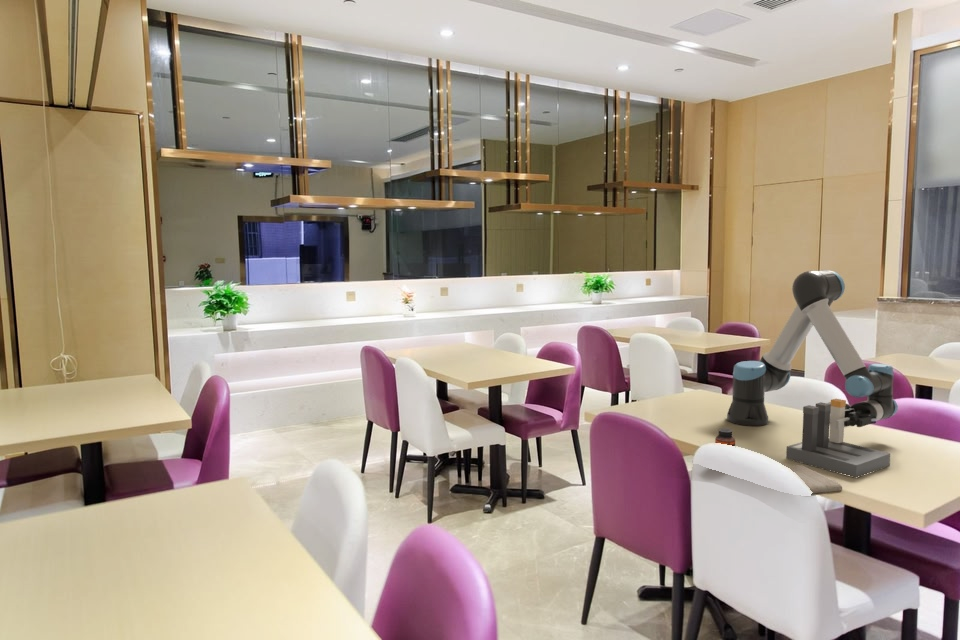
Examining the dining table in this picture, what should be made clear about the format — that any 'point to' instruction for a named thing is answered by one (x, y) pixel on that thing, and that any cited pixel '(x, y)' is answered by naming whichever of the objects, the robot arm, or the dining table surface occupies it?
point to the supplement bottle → (725, 437)
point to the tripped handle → (836, 414)
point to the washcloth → (816, 480)
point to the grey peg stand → (832, 447)
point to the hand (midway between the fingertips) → (828, 422)
